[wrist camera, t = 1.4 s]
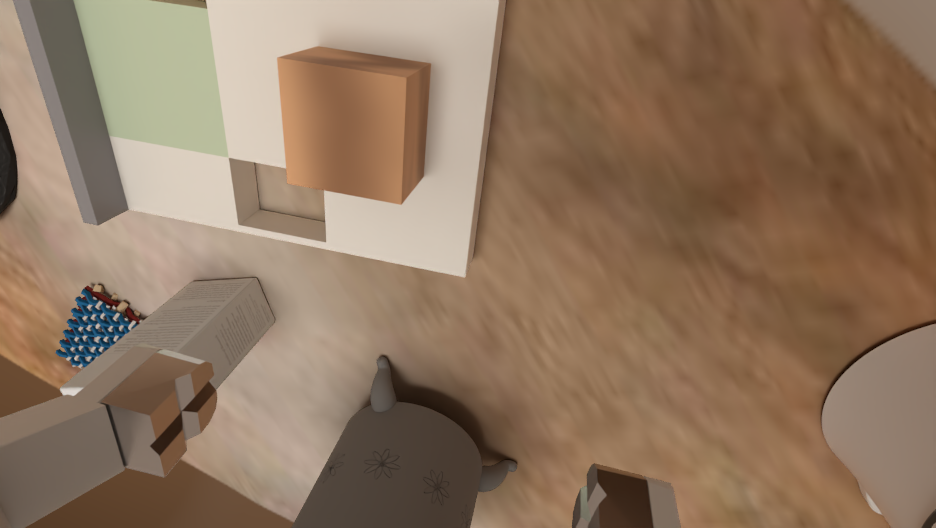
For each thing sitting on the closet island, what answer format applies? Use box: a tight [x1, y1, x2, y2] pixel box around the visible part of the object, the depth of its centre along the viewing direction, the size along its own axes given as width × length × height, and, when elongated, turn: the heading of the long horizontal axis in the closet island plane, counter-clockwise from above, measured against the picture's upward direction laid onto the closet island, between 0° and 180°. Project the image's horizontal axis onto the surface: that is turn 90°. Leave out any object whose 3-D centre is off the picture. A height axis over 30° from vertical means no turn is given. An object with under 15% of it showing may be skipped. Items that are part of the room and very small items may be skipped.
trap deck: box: [13, 0, 506, 277], centre depth 28 cm, size 24×18×5 cm
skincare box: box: [60, 278, 275, 396], centre depth 34 cm, size 6×4×12 cm
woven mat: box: [56, 285, 144, 369], centre depth 45 cm, size 10×11×2 cm
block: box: [277, 46, 431, 205], centre depth 25 cm, size 6×6×4 cm
